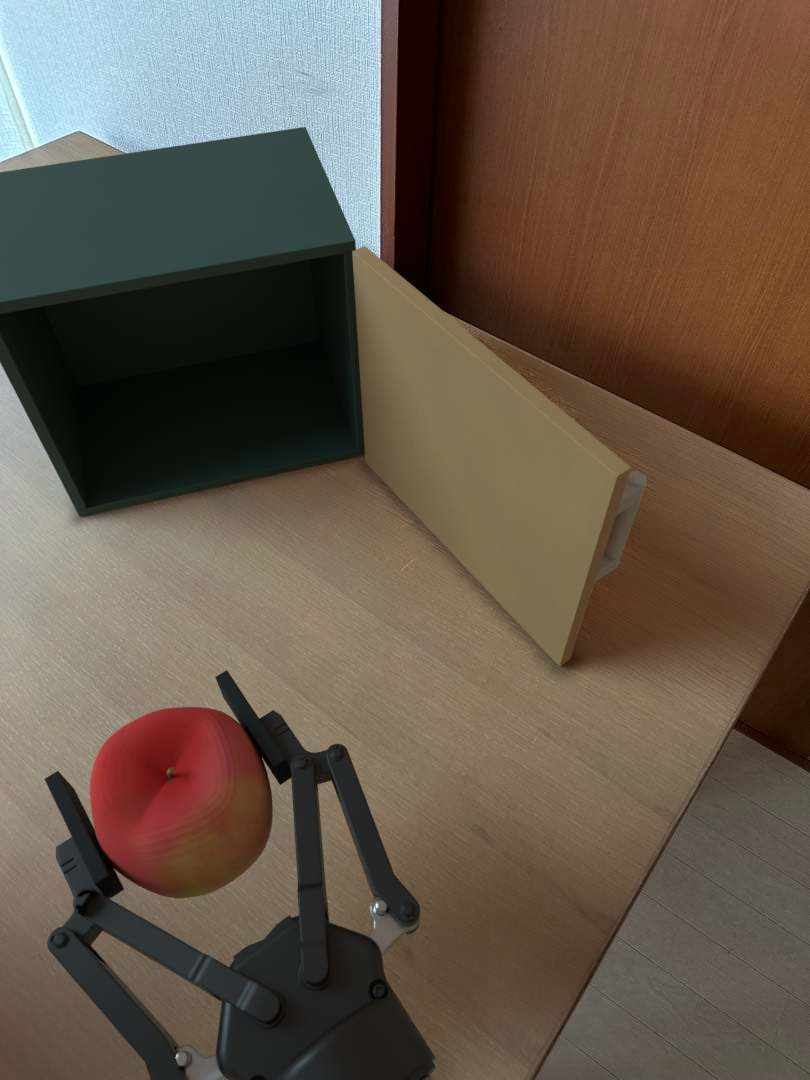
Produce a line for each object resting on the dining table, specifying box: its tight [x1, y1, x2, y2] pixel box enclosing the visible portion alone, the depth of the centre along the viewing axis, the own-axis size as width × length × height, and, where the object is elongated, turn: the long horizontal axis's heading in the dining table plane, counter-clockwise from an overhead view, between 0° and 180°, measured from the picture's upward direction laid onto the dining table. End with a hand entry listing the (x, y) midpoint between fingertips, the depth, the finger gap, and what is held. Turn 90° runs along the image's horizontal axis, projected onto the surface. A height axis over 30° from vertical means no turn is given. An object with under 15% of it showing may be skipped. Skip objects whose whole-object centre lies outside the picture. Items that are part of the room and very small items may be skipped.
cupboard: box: [0, 126, 365, 518], centre depth 76 cm, size 18×28×24 cm, turn 106°
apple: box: [89, 706, 274, 899], centre depth 45 cm, size 10×10×10 cm
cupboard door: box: [352, 245, 648, 667], centre depth 67 cm, size 7×28×24 cm, turn 36°
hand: (145, 732), depth 46 cm, fingers closed on apple, 9 cm apart
